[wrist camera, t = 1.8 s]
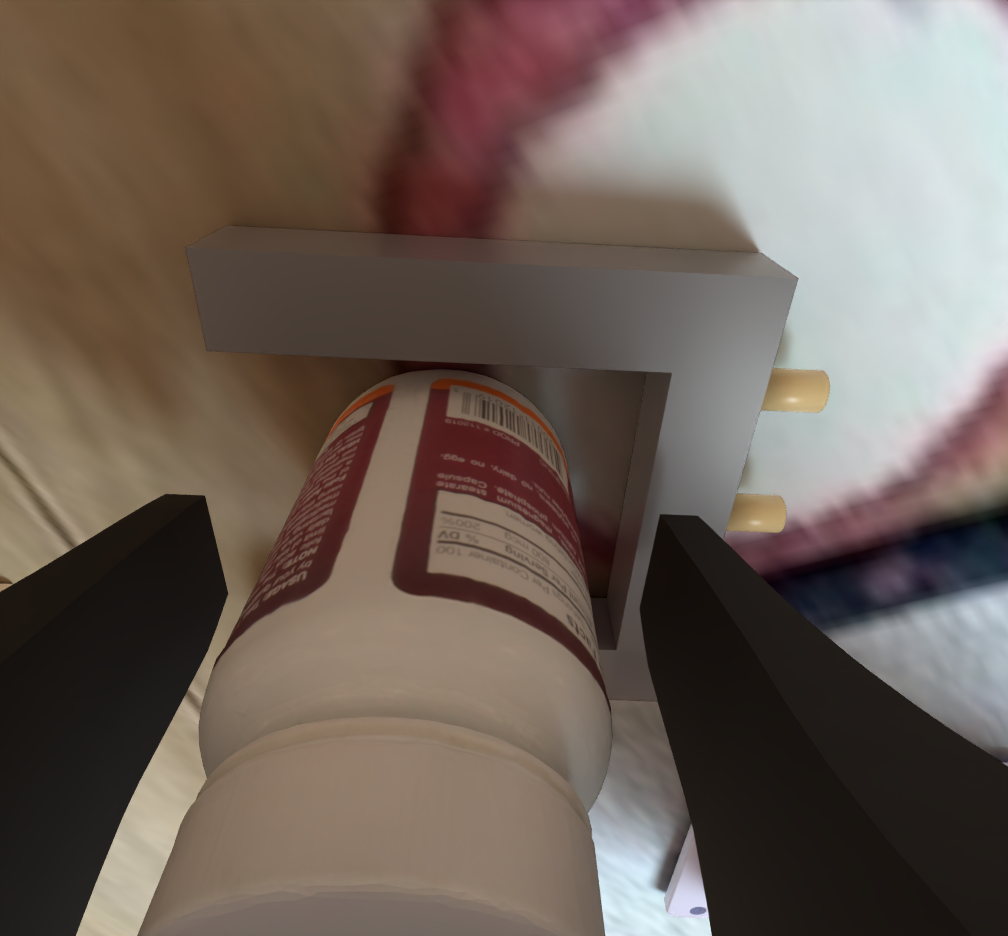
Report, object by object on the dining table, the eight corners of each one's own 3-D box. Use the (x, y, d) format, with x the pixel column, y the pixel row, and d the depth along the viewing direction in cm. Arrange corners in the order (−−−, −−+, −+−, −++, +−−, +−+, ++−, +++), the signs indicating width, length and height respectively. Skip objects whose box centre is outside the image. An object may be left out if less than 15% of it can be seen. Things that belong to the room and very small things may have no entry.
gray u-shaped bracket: (835, 257, 10) (882, 282, 9) (712, 650, 15) (731, 703, 14) (226, 225, 10) (184, 247, 9) (295, 634, 15) (276, 687, 13)
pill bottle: (370, 585, 14) (228, 1118, 7) (288, 388, 12) (-66, 899, 4) (586, 550, 13) (676, 1088, 6) (548, 338, 11) (626, 824, 4)
